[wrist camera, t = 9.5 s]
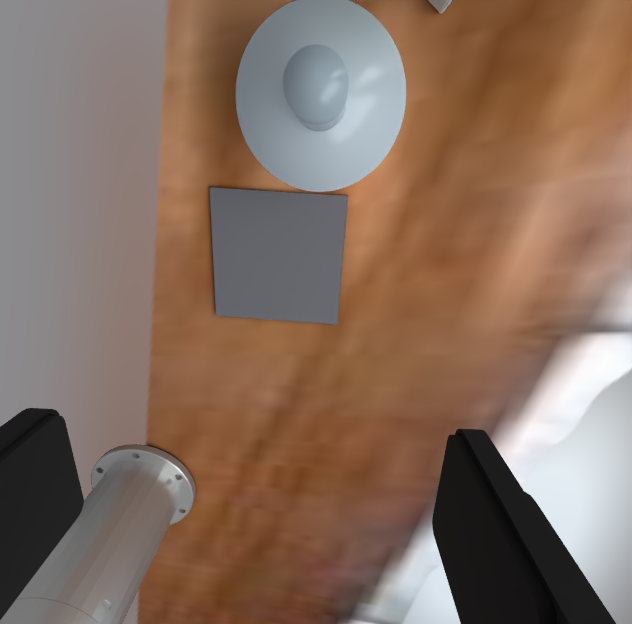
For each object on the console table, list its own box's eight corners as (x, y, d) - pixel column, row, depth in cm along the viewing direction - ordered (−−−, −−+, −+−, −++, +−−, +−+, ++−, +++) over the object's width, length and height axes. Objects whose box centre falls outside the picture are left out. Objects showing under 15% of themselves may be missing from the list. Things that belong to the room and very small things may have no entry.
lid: (391, 195, 26) (406, 201, 20) (241, 186, 26) (215, 190, 21) (414, 8, 22) (442, -51, 16) (238, 0, 22) (204, -60, 17)
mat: (337, 322, 35) (337, 324, 35) (217, 314, 36) (216, 315, 35) (347, 195, 31) (347, 196, 31) (211, 187, 31) (209, 187, 31)
